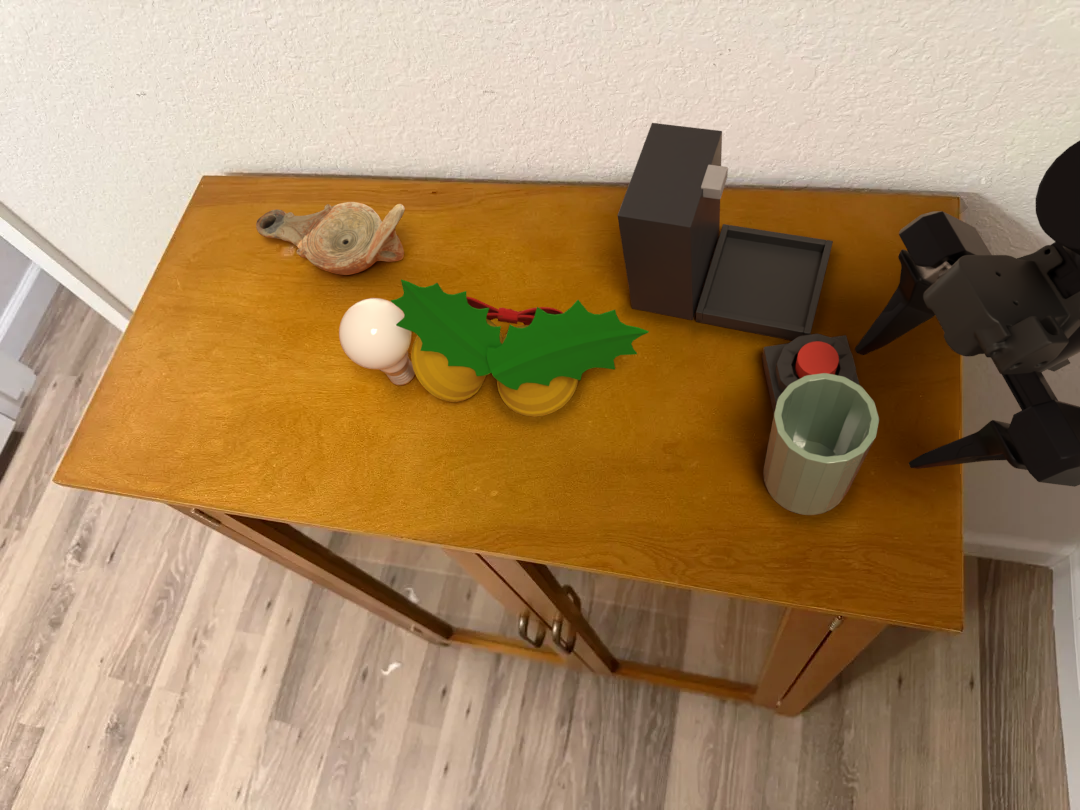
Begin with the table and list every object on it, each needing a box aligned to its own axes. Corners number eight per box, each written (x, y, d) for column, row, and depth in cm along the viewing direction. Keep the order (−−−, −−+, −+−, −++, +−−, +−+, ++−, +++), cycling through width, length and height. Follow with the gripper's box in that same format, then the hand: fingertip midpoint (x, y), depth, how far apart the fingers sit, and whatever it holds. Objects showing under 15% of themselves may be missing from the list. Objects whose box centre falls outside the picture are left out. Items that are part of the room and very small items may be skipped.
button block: (842, 347, 68) (849, 323, 65) (861, 418, 65) (870, 398, 62) (761, 358, 70) (764, 336, 66) (776, 429, 66) (780, 409, 63)
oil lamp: (417, 306, 79) (381, 247, 70) (252, 265, 86) (200, 207, 77) (450, 239, 82) (419, 174, 73) (288, 205, 89) (242, 142, 80)
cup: (838, 433, 65) (864, 367, 55) (858, 510, 62) (889, 455, 52) (756, 443, 66) (766, 380, 56) (771, 519, 63) (785, 468, 53)
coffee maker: (830, 252, 73) (856, 143, 60) (807, 344, 69) (830, 248, 57) (660, 225, 78) (651, 119, 65) (631, 309, 74) (616, 215, 62)
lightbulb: (361, 392, 76) (313, 331, 66) (395, 340, 78) (353, 275, 68) (414, 414, 74) (372, 355, 64) (447, 360, 76) (411, 295, 66)
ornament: (610, 373, 77) (648, 254, 66) (610, 439, 72) (652, 321, 60) (403, 343, 76) (407, 216, 64) (387, 408, 70) (388, 281, 59)
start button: (830, 348, 65) (834, 338, 63) (839, 382, 63) (843, 372, 62) (791, 354, 65) (793, 344, 64) (799, 387, 64) (801, 378, 62)
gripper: (973, 111, 43) (765, 278, 54) (1165, 398, 35) (873, 529, 45) (1057, 169, 50) (857, 308, 60) (1237, 422, 41) (966, 532, 52)
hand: (884, 407), depth 54 cm, fingers open, 9 cm apart
